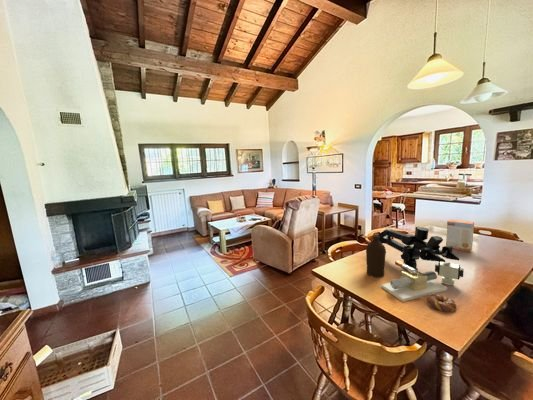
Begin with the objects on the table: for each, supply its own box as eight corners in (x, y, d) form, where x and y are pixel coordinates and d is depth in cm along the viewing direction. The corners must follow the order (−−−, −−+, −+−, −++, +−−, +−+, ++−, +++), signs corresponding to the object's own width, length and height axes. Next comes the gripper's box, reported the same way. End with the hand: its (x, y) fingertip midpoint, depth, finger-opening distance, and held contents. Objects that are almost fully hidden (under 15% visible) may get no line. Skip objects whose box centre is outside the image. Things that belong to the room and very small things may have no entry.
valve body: (387, 286, 120) (387, 274, 119) (425, 277, 127) (426, 266, 125) (399, 295, 112) (400, 281, 111) (439, 284, 119) (440, 272, 118)
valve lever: (395, 264, 128) (395, 261, 128) (398, 264, 129) (398, 260, 129) (414, 274, 117) (414, 270, 116) (418, 273, 117) (418, 269, 117)
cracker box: (472, 250, 161) (474, 222, 158) (470, 252, 158) (472, 223, 154) (447, 245, 172) (449, 219, 169) (445, 247, 169) (447, 220, 165)
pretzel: (441, 297, 111) (442, 290, 111) (464, 311, 101) (464, 303, 100) (420, 300, 110) (420, 293, 109) (440, 315, 99) (441, 307, 98)
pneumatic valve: (434, 278, 128) (435, 258, 126) (461, 284, 120) (463, 263, 118) (433, 283, 123) (435, 262, 122) (462, 289, 116) (464, 267, 114)
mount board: (381, 287, 123) (381, 284, 123) (421, 277, 130) (422, 275, 130) (403, 301, 109) (403, 298, 109) (446, 290, 116) (447, 287, 116)
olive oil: (374, 279, 131) (374, 238, 127) (362, 271, 141) (362, 232, 137) (389, 276, 133) (390, 235, 130) (376, 268, 144) (377, 230, 140)
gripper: (413, 234, 125) (440, 247, 110) (440, 232, 129) (470, 244, 114) (410, 253, 128) (435, 267, 113) (436, 250, 132) (465, 264, 117)
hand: (452, 260), depth 114 cm, fingers open, 9 cm apart
